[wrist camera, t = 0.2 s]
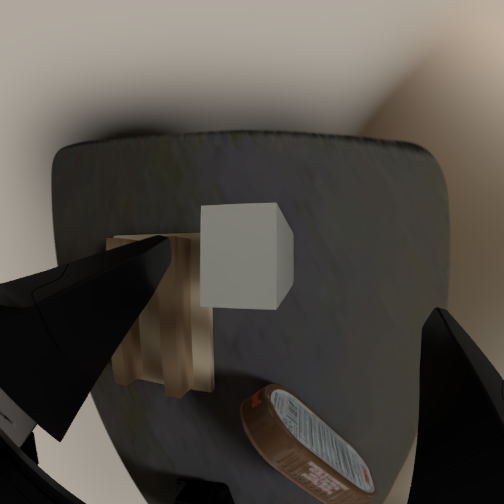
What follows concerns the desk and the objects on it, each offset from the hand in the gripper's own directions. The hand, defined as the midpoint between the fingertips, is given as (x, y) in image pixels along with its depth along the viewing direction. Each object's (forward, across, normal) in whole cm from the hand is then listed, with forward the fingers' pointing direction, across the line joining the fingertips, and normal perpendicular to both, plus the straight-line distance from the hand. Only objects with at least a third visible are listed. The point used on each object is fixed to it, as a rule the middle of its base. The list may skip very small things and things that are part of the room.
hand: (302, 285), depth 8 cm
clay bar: (+12, +2, +8) cm, 15 cm away
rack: (+8, +11, +14) cm, 20 cm away
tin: (+5, -6, +19) cm, 21 cm away
